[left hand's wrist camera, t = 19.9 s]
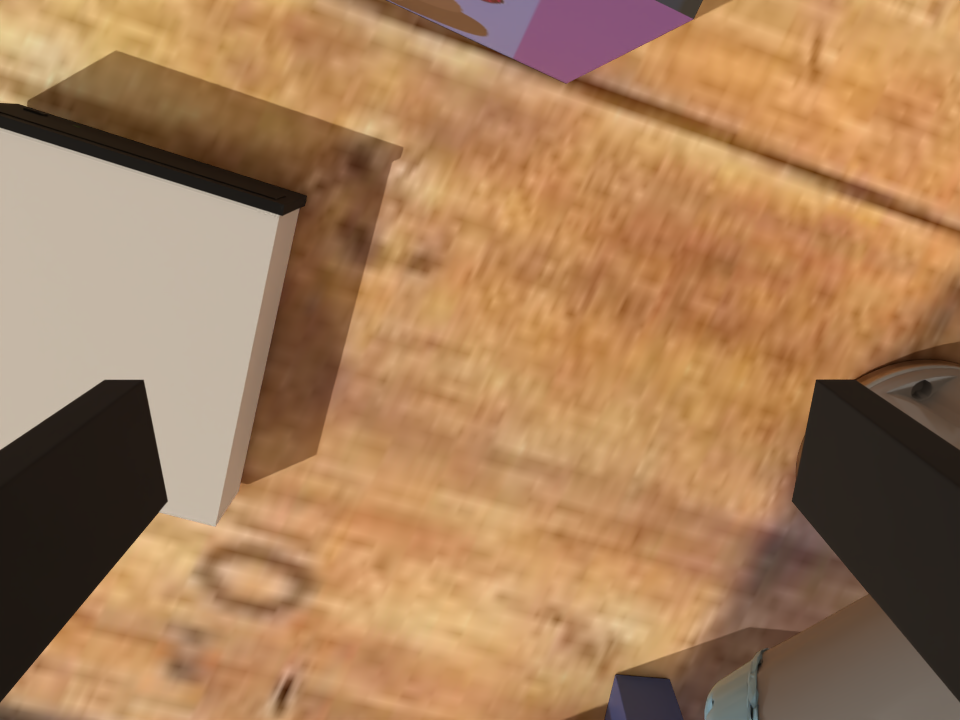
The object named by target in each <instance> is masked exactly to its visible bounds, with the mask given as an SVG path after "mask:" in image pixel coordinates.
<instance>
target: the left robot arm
mask: <svg viewBox="0 0 960 720" xmlns="http://www.w3.org/2000/svg"><path fill="white" fill-rule="evenodd" d="M167 502H168V498H167V493H166V488H165V483H164V478H163V473H162V468H161V463H160V458H159V453H158V448H157V443H156V438H155V433H154V428H153V423H152V418H151V413H150V408H149V403H148V398H147V393H146V388H145V383H144V380H103V381H102V382H100V383H99V384H97V385H96V386H95V387H93V388H92V389H90V390H89V391H87V392H86V393H84V394H83V395H81V396H80V397H78V398H77V399H75V400H74V401H72V402H71V403H69V404H68V405H66V406H65V407H63V408H62V409H60V410H59V411H57V412H56V413H54V414H53V415H51V416H50V417H48V418H47V419H45V420H44V421H42V422H41V423H40V424H38V425H37V426H35V427H34V428H32V429H31V430H29V431H28V432H26V433H25V434H23V435H22V436H20V437H19V438H17V439H16V440H14V441H13V442H11V443H10V444H8V445H7V446H5V447H4V448H2V449H1V450H0V702H1V701H2V700H3V699H4V697H5V696H6V695H7V694H8V693H9V691H10V690H11V689H12V688H13V687H14V685H15V684H16V683H17V682H18V681H19V679H20V678H21V677H22V676H23V675H24V673H25V672H26V671H27V670H28V669H29V667H30V666H31V665H32V664H33V663H34V661H35V660H36V659H37V658H38V657H39V655H40V654H41V653H42V652H43V651H44V649H45V648H46V647H47V646H48V645H49V643H50V642H51V641H52V640H53V639H54V637H55V636H56V635H57V634H58V633H59V631H60V630H61V629H62V628H63V627H64V625H65V624H66V623H67V622H68V621H69V619H70V618H71V617H72V616H73V615H74V613H75V612H76V611H77V610H78V609H79V607H80V606H81V605H82V604H83V603H84V601H85V600H86V599H87V598H88V597H89V595H90V594H91V593H92V592H93V591H94V589H95V588H96V587H97V586H98V585H99V583H100V582H101V581H102V580H103V579H104V577H105V576H106V575H107V574H108V573H109V571H110V570H111V569H112V568H113V567H114V565H115V564H116V563H117V562H118V561H119V559H120V558H121V557H122V556H123V555H124V553H125V552H126V551H127V550H128V549H129V547H130V546H131V545H132V544H133V543H134V541H135V540H136V539H137V538H138V537H139V535H140V534H141V533H142V532H143V531H144V529H145V528H146V527H147V526H148V525H149V523H150V522H151V521H152V520H153V519H154V517H155V516H156V515H157V514H158V513H159V511H160V510H161V509H162V508H163V507H164V505H165V504H166V503H167ZM792 502H793V503H794V504H795V505H796V507H797V508H798V509H799V510H800V511H801V513H802V514H803V515H804V516H805V517H806V519H807V520H808V521H809V522H810V523H811V525H812V526H813V527H814V528H815V529H816V531H817V532H818V533H819V534H820V535H821V537H822V538H823V539H824V540H825V541H826V543H827V544H828V545H829V546H830V547H831V549H832V550H833V551H834V552H835V553H836V555H837V556H838V557H839V558H840V559H841V561H842V562H843V563H844V564H845V565H846V567H847V568H848V569H849V570H850V571H851V573H852V574H853V575H854V576H855V577H856V579H857V580H858V581H859V582H860V583H861V585H862V586H863V587H864V588H865V589H866V591H867V592H868V593H869V594H868V595H866V596H864V597H863V598H861V599H859V600H857V601H856V602H854V603H852V604H850V605H848V606H847V607H845V608H843V609H841V610H839V611H838V612H836V613H834V614H832V615H831V616H829V617H827V618H825V619H823V620H822V621H820V622H818V623H816V624H815V625H813V626H811V627H809V628H807V629H806V630H804V631H802V632H800V633H799V634H797V635H795V636H793V637H791V638H790V639H788V640H786V641H784V642H782V643H780V644H778V645H776V646H775V647H773V648H771V649H768V648H765V649H762V650H760V651H759V652H757V653H756V654H755V656H754V658H753V659H752V660H751V661H749V662H748V663H746V664H744V665H743V666H741V667H740V668H738V669H737V670H735V671H734V672H732V673H731V674H729V675H728V676H726V677H725V678H723V679H721V680H720V681H719V682H717V683H716V684H715V685H714V687H713V688H712V689H711V691H710V693H709V695H708V697H707V701H706V706H705V711H704V714H705V720H960V364H957V363H953V362H948V361H943V360H912V361H906V362H901V363H896V364H893V365H889V366H886V367H883V368H880V369H878V370H875V371H873V372H871V373H869V374H867V375H865V376H863V377H861V378H859V379H857V380H816V383H815V388H814V393H813V398H812V403H811V408H810V413H809V418H808V423H807V428H806V433H805V436H804V438H803V441H802V443H801V446H800V449H799V453H798V457H797V463H796V483H795V488H794V493H793V498H792Z"/></svg>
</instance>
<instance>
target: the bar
mask: <svg viewBox="0 0 960 720" xmlns="http://www.w3.org/2000/svg"><path fill="white" fill-rule="evenodd" d="M604 720H683V717H682V714H681V711H680V708H679V705H678V702H677V699H676V697H675V694H674V691H673V688H672V685H671V682H670V679H662V678H650V677H639V676H627V675H615V678H614V683H613V687H612V691H611V695H610V699H609V703H608V707H607V711H606V715H605V719H604Z"/></svg>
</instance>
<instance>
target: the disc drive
mask: <svg viewBox="0 0 960 720" xmlns="http://www.w3.org/2000/svg"><path fill="white" fill-rule="evenodd" d="M306 198H307V196H306V195H303V194H299V193H296V192H293V191H290V190H287V189H284V188H281V187H277V186H274V185H271V184H268V183H265V182H262V181H258V180H255V179H252V178H249V177H246V176H243V175H240V174H236V173H233V172H230V171H227V170H224V169H221V168H218V167H214V166H211V165H208V164H205V163H202V162H199V161H196V160H192V159H189V158H186V157H183V156H180V155H177V154H174V153H170V152H167V151H164V150H161V149H158V148H155V147H152V146H148V145H145V144H142V143H139V142H136V141H133V140H130V139H126V138H123V137H120V136H117V135H114V134H111V133H108V132H104V131H101V130H98V129H95V128H92V127H89V126H86V125H82V124H79V123H76V122H73V121H70V120H67V119H64V118H60V117H57V116H54V115H51V114H48V113H45V112H42V111H38V110H35V109H32V108H29V107H26V106H23V105H20V104H9V103H0V450H1V449H2V448H4V447H5V446H7V445H8V444H10V443H11V442H13V441H14V440H16V439H17V438H19V437H20V436H22V435H23V434H25V433H26V432H28V431H29V430H31V429H32V428H34V427H35V426H37V425H38V424H40V423H41V422H42V421H44V420H45V419H47V418H48V417H50V416H51V415H53V414H54V413H56V412H57V411H59V410H60V409H62V408H63V407H65V406H66V405H68V404H69V403H71V402H72V401H74V400H75V399H77V398H78V397H80V396H81V395H83V394H84V393H86V392H87V391H89V390H90V389H92V388H93V387H95V386H96V385H97V384H99V383H100V382H102V381H103V380H144V383H145V388H146V393H147V398H148V403H149V408H150V413H151V418H152V423H153V428H154V433H155V438H156V443H157V448H158V453H159V458H160V463H161V468H162V473H163V478H164V483H165V488H166V493H167V498H168V502H167V503H166V504H165V505H164V507H163V508H162V509H161V510H160V511H159V512H160V513H164V514H168V515H172V516H176V517H179V518H183V519H187V520H191V521H195V522H199V523H203V524H207V525H211V526H215V527H216V525H217V523H218V522H219V520H220V519H221V517H222V516H223V514H224V513H225V511H226V510H227V508H228V507H229V505H230V504H231V502H232V500H233V499H234V497H235V496H236V494H237V493H238V491H239V487H240V482H241V478H242V473H243V469H244V464H245V459H246V455H247V450H248V445H249V441H250V436H251V432H252V427H253V422H254V418H255V413H256V408H257V404H258V399H259V395H260V390H261V385H262V381H263V376H264V371H265V367H266V362H267V358H268V353H269V348H270V344H271V339H272V334H273V330H274V325H275V321H276V316H277V311H278V307H279V302H280V297H281V293H282V288H283V284H284V279H285V274H286V270H287V265H288V260H289V256H290V251H291V246H292V242H293V237H294V233H295V228H296V223H297V219H298V214H299V209H300V208H301V207H303V206H305V203H306Z"/></svg>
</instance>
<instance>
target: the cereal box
mask: <svg viewBox="0 0 960 720" xmlns="http://www.w3.org/2000/svg"><path fill="white" fill-rule="evenodd" d="M386 1H389V2H391V3H393V4H395V5H397V6H399V7H402V8H404V9H406V10H408V11H410V12H412V13H415V14H417V15H419V16H421V17H423V18H425V19H428V20H430V21H432V22H434V23H436V24H438V25H440V26H443V27H445V28H447V29H449V30H451V31H453V32H456V33H458V34H460V35H462V36H464V37H466V38H469V39H471V40H473V41H475V42H477V43H479V44H481V45H484V46H486V47H488V48H490V49H492V50H494V51H497V52H499V53H501V54H503V55H505V56H507V57H510V58H512V59H514V60H516V61H518V62H520V63H523V64H525V65H527V66H529V67H531V68H533V69H535V70H538V71H540V72H542V73H544V74H546V75H548V76H551V77H553V78H555V79H557V80H559V81H561V82H564V83H568V82H570V81H572V80H574V79H576V78H578V77H580V76H582V75H584V74H586V73H588V72H590V71H592V70H594V69H596V68H598V67H600V66H602V65H604V64H606V63H608V62H610V61H612V60H614V59H616V58H618V57H620V56H622V55H624V54H626V53H628V52H629V51H631V50H633V49H635V48H637V47H639V46H641V45H643V44H645V43H647V42H649V41H651V40H653V39H655V38H657V37H659V36H661V35H663V34H665V33H667V32H669V31H671V30H673V29H675V28H677V27H679V26H681V25H683V24H685V23H687V22H689V21H691V20H693V19H694V17H695V15H696V13H697V11H698V9H699V7H700V5H701V3H702V1H703V0H386Z"/></svg>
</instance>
